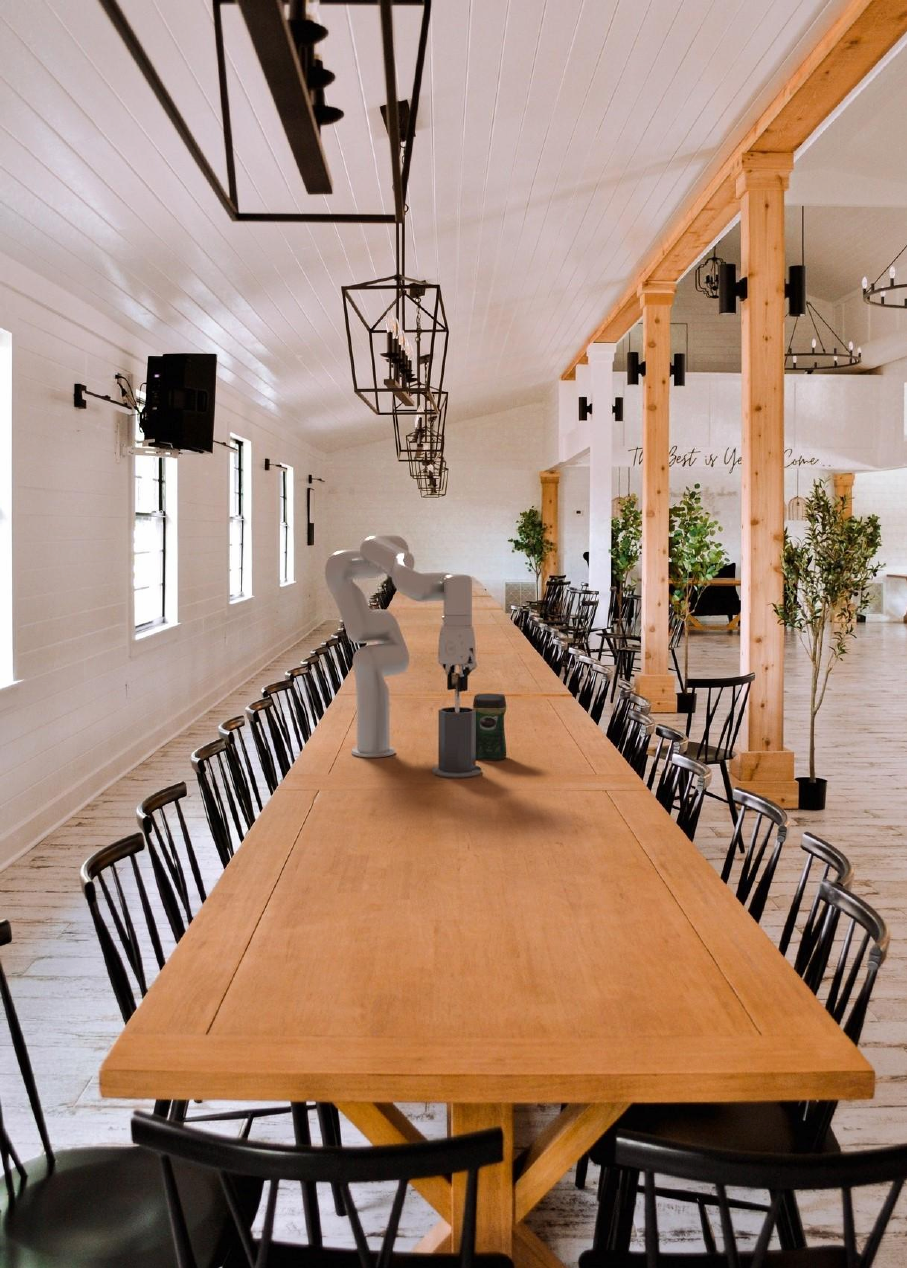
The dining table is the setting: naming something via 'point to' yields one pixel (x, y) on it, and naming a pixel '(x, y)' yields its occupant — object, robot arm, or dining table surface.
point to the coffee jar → (490, 726)
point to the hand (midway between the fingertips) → (457, 689)
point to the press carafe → (457, 744)
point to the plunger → (456, 691)
